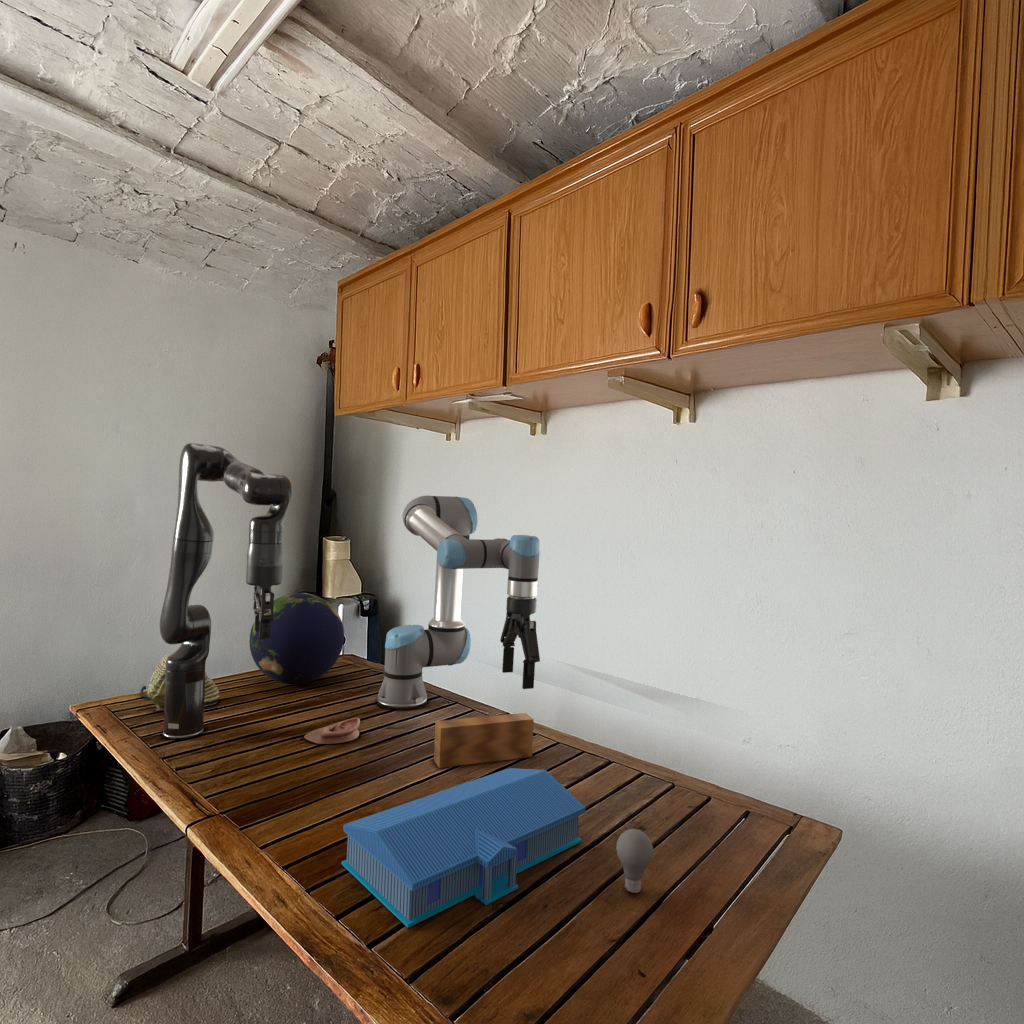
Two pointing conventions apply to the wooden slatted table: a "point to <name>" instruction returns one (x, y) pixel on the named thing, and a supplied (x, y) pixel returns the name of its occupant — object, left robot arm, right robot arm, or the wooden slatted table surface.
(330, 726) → the anatomical model
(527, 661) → the right robot arm
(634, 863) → the light bulb
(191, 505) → the left robot arm
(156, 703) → the fossil
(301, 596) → the globe
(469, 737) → the bar
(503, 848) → the model building
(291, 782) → the wooden slatted table surface
